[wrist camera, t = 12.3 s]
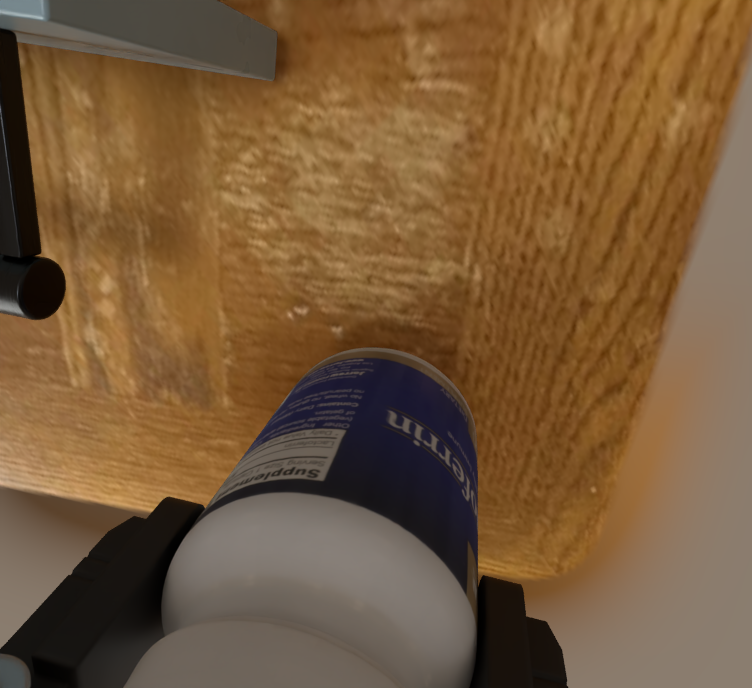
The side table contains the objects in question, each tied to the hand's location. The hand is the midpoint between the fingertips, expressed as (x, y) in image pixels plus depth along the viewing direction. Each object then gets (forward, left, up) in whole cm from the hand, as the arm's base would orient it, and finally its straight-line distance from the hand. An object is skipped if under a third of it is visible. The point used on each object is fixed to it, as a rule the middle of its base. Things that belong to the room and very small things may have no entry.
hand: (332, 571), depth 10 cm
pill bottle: (0, 0, -6) cm, 6 cm away
